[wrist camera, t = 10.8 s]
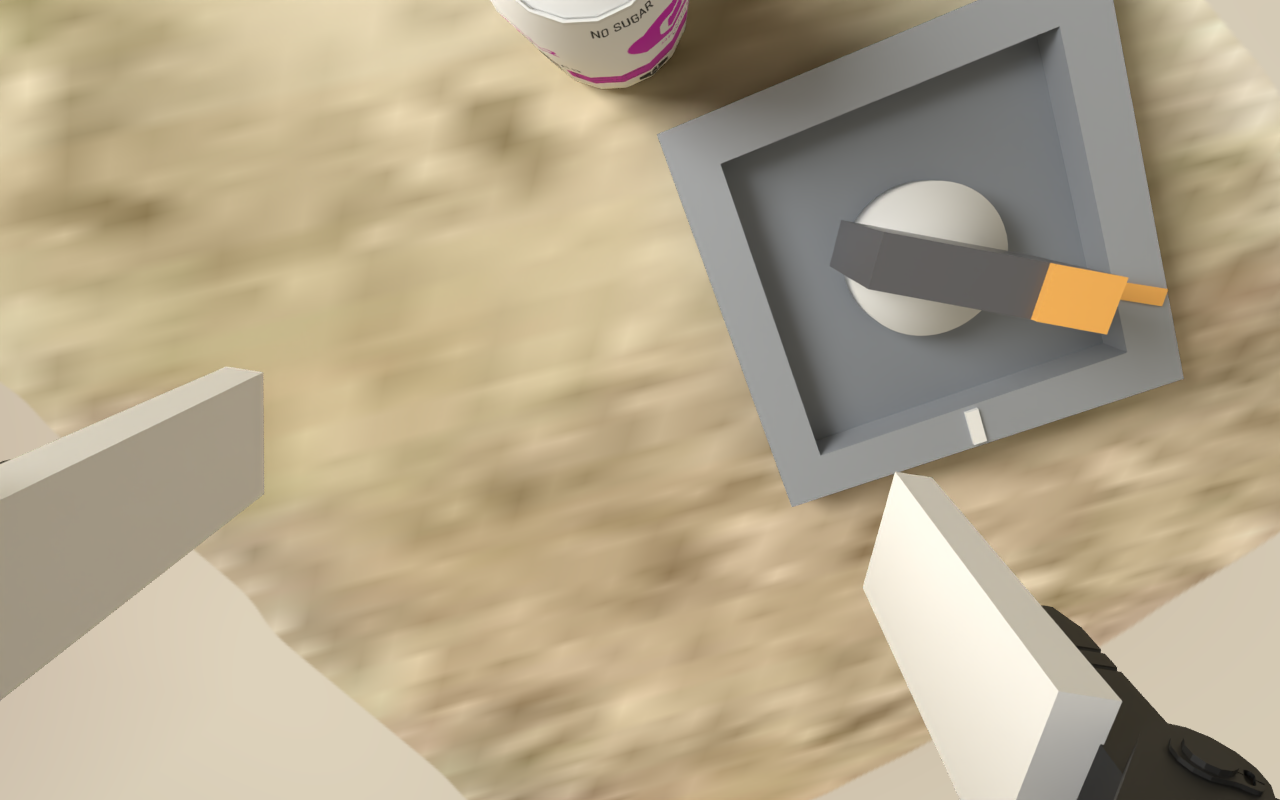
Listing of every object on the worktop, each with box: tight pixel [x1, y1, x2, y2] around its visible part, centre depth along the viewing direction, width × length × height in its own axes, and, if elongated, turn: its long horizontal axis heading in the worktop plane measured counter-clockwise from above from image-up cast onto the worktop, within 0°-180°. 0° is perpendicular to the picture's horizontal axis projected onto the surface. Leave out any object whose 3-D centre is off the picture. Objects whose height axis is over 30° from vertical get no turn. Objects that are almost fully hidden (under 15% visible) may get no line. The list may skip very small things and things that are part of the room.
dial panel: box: [657, 0, 1184, 507], centre depth 39 cm, size 22×22×4 cm
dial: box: [830, 180, 1128, 336], centre depth 35 cm, size 10×8×10 cm
